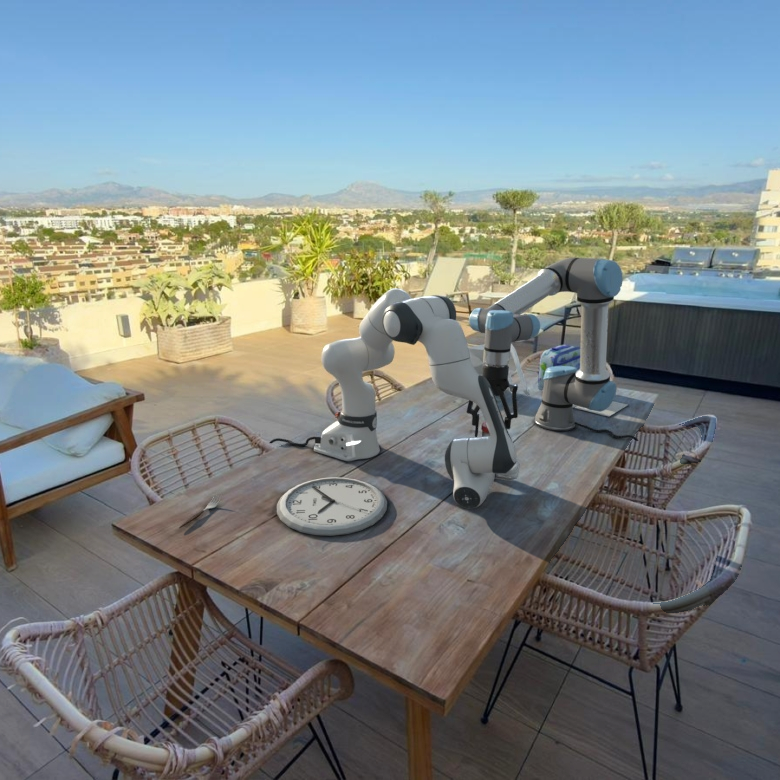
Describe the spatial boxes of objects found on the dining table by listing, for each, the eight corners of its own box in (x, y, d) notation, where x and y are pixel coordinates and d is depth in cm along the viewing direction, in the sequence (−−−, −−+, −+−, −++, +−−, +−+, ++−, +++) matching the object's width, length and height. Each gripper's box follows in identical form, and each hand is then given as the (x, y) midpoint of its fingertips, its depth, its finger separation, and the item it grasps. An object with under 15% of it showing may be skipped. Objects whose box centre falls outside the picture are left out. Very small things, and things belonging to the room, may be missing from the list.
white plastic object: (461, 429, 252) (437, 405, 227) (444, 352, 274) (420, 323, 250) (535, 404, 240) (518, 377, 215) (510, 326, 262) (492, 293, 237)
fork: (174, 529, 130) (174, 521, 130) (216, 499, 144) (215, 492, 144) (183, 531, 129) (182, 524, 129) (223, 501, 144) (223, 494, 143)
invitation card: (608, 416, 214) (573, 407, 224) (608, 416, 214) (573, 408, 224) (628, 404, 229) (594, 396, 238) (628, 405, 229) (594, 397, 238)
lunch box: (554, 397, 237) (559, 352, 231) (533, 392, 244) (538, 348, 238) (581, 386, 255) (586, 344, 248) (560, 381, 262) (565, 340, 256)
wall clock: (392, 527, 129) (268, 531, 127) (391, 533, 130) (269, 537, 127) (383, 473, 158) (282, 475, 155) (383, 478, 158) (282, 480, 156)
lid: (504, 430, 158) (504, 425, 157) (491, 435, 155) (492, 429, 154) (489, 425, 162) (490, 420, 162) (477, 429, 159) (477, 424, 158)
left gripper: (517, 469, 145) (524, 451, 157) (446, 457, 152) (457, 440, 164) (515, 490, 147) (522, 470, 159) (445, 477, 154) (456, 458, 166)
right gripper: (532, 363, 153) (524, 436, 160) (462, 358, 158) (458, 428, 165) (532, 370, 146) (524, 445, 153) (459, 364, 151) (454, 437, 158)
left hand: (489, 454), depth 162 cm, fingers closed on jar, 5 cm apart
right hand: (490, 436), depth 159 cm, fingers open, 8 cm apart
